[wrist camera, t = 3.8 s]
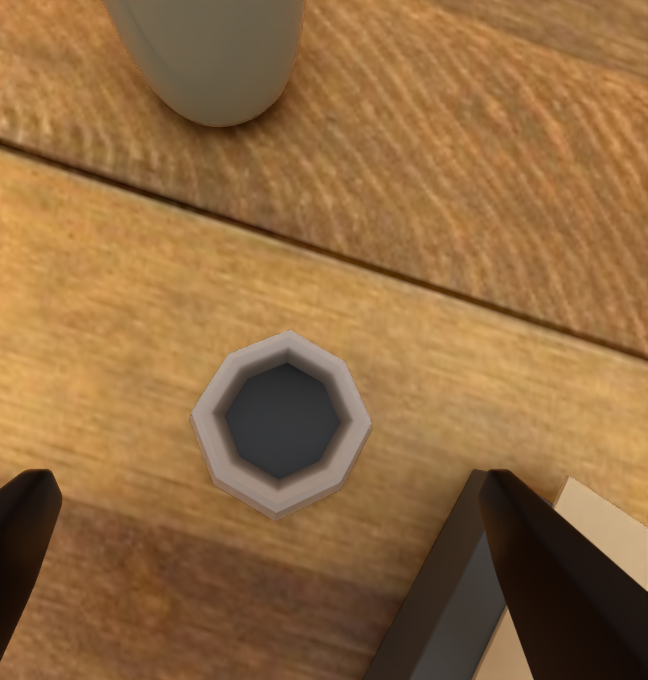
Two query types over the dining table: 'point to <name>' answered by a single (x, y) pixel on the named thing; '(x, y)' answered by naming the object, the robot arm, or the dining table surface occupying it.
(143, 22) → the cup
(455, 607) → the grey and beige box
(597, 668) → the robot arm
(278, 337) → the octagonal bud vase
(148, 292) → the dining table surface
